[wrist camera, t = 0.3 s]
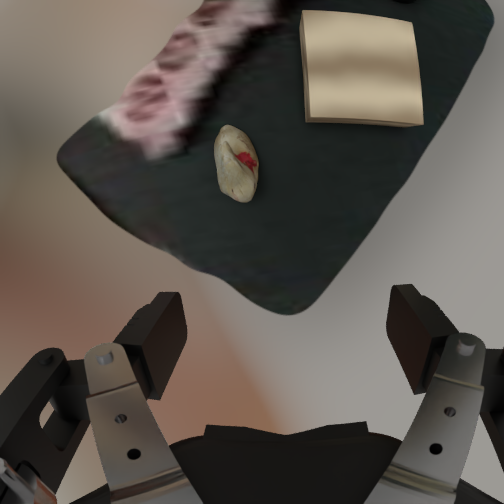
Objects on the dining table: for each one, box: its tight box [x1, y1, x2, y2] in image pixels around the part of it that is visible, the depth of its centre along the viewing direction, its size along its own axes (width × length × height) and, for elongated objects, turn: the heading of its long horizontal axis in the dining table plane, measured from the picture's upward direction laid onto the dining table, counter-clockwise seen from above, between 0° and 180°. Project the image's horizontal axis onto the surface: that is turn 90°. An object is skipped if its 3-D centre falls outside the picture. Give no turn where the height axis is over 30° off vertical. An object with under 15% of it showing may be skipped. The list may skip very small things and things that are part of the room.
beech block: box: [299, 10, 423, 127], centre depth 27 cm, size 12×12×6 cm
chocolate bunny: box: [214, 125, 259, 202], centre depth 30 cm, size 6×8×10 cm
